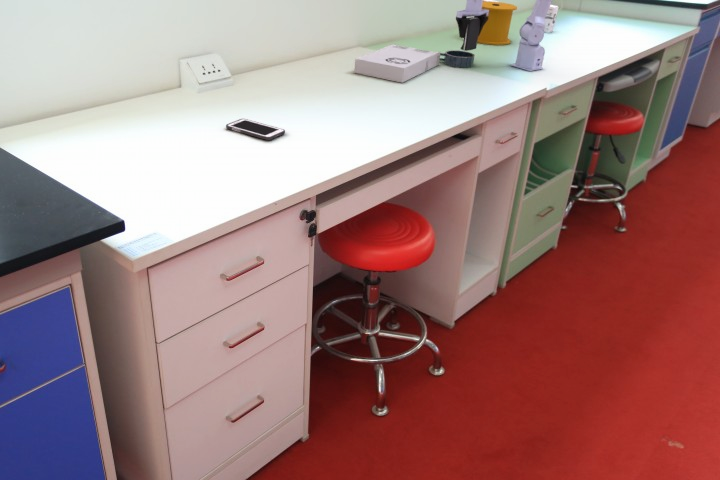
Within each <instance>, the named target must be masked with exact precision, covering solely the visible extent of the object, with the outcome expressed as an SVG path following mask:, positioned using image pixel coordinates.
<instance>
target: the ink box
mask: <svg viewBox="0 0 720 480" xmlns="http://www.w3.org/2000/svg"><path fill="white" fill-rule="evenodd" d="M559 8H560V7H559V6H558V5H555V4H551V5H550V7H549V10H548V12H547V15H546V17H545V28H544V33H546V34H551V33H554V29H555V25H556V21H557V15H558V12H559Z"/></svg>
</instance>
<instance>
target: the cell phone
mask: <svg viewBox="0 0 720 480" xmlns="http://www.w3.org/2000/svg"><path fill="white" fill-rule="evenodd" d="M225 128H226V129H228V130H231V131H235V132H238V133H240V134H245V135H247V136H248V135H249V136H252V137H255V138H259V139H262V140H265V141H271V140H274V139H276V138H278V137H280V136H283V135H284V134H286V130H285V129H283V128H281V127H280V128H279V127H277V126H274V125H273V126H272V125H269V124H265V123H262V122H258V121H256V120H255V121H254V120H251V119H247V118H239V119H237V120H235V121H232V122H229V123H227V124H226V125H225Z"/></svg>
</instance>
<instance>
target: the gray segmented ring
mask: <svg viewBox="0 0 720 480" xmlns="http://www.w3.org/2000/svg"><path fill="white" fill-rule="evenodd" d="M441 56H442V57H444V58H442V57H441ZM475 56H476V54H475V53H472V52H471V51H464V50H453V49H451V50H447V51H445V52H441V54H440V60H439V62H443V64H444V65H445V66H448V67H452V68H459V69H460V68H461V69H468V68H472V67H474V63H475V62H474V60H475Z"/></svg>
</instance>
